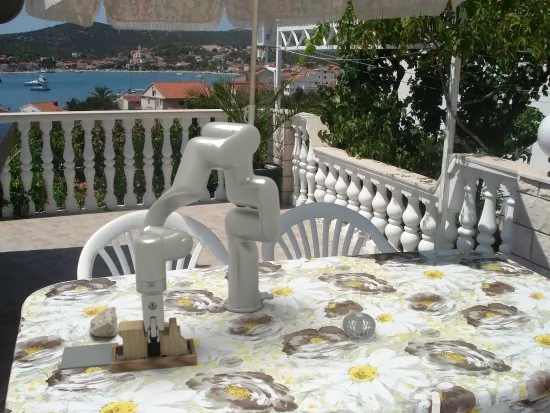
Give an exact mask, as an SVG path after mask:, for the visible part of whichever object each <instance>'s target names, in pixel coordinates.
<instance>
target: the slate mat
mask: <svg viewBox="0 0 550 413" xmlns="http://www.w3.org/2000/svg"><path fill="white" fill-rule="evenodd" d="M112 345H120V344H119V342H110V343H109V342H108V343H99V344H98V343H97V344H87V345H86V344H85V345H75V346H74V345H73V346H64V347H63V351H62V352H63V353H62V356H61V361H60V366H59V371H62V370H71V369H82V368H83V369H84V368H94V367H95V368H96V367H102V366H103V367H104V366H111V354H112ZM118 361H119V355H118V354H116V362H118Z"/></svg>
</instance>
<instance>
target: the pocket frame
mask: <svg viewBox="0 0 550 413" xmlns="http://www.w3.org/2000/svg"><path fill="white" fill-rule="evenodd" d="M185 339H186V342H187V350H188V349H189V353H190V354H181V355H180V356H172V357H167V356H162V357H161V358H150V359H146V358H143V359H139V360H129V361H127V360H118V362H116V354H118V356H121V355H123V343H122V344H119V345H112V354H111V365H110V372H111V374H112V373H113V374H114V373H115V374H116V373H124V372H125V373H127V372H133V371H135V372H136V371H145V370H156V369H165V368H176V367H177V368H178V367H188V366H197V365H198V358H197V357H198V355H197V351H196V347H195V343H194V339H193V338H191V337H190V338H185Z"/></svg>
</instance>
